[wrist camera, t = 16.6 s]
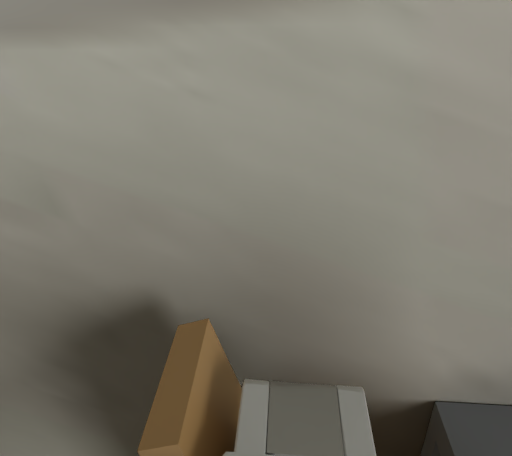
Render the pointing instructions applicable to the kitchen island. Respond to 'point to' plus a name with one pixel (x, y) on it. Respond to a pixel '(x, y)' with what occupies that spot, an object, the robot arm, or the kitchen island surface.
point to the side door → (194, 398)
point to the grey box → (469, 430)
